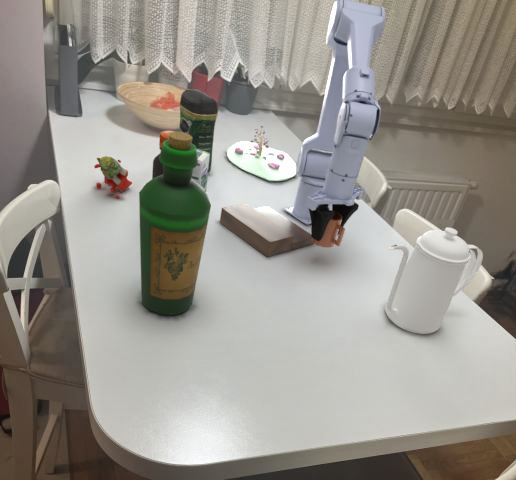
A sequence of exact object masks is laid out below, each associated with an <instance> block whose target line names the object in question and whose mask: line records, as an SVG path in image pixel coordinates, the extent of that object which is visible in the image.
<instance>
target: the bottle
mask: <svg viewBox="0 0 516 480" xmlns="http://www.w3.org/2000/svg"><path fill="white" fill-rule="evenodd" d="M192 139H193V138H192V136H191V135H189V134H187V133H183V132H179V131H176V132H171V133H169V140H166V141H164V142H163V145H162V148H161V150H160V152H159V154H160V156H159V160H160V162H161V163H163V175H160V176H158V177H155V178H153V179H152V178H151V179H150V180H149V181H148V182H146V183H145V185H144V186H143V187H142V188H141V189H140V190H139V192H138V201H139V202H138V203H139V207H138V208H139V248H140V249H139V251H140V253H139V254H140V255H139V256H140V290H141V291H140V296H141V304H142V305H143V306H145V307H146V308H147V309H148V310H149V311H151V312H154V313H157V314H160V315H179V314H181V313H184V312H186V311H188V310H189V309H190V307H191V306H192V305H193V301H194V296H195V291H196V285H197V280H198V275H199V270H200V264H201V259H202V254H203V249H204V244H205V239H206V234H207V228H208V222H209V219H210V213H211V207H212V204H211V201H210V198H209V197H208V194H207V191H206V192H205V190H204V188H203V187H202V186H200V185H199V184H198V183H197V182H195V181H194V180H193V179H191V178H192V173H193V168H195V167H196V166H197V165H198V160H197V149H196V146H195V145H194V144H192V143H191V142H192Z"/></svg>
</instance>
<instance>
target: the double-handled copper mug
mask: <svg viewBox="0 0 516 480" xmlns="http://www.w3.org/2000/svg"><path fill="white" fill-rule="evenodd" d="M330 211H332V210H330ZM332 212H333V213H335V215H334V216H333V217H332V218H331V220H330V221H329V223H328V225H327V227H326V229H325V232H324V235H323V237H322V239H321V240H320V241H317V240H315V239H314V238H312V242H313V244H314V245H316V246H318V247H321V248H325V249H326V248H327V249H328V248H329V249H330V248H333V247H334V246H336V247H340V246H341V245H342V244H341V243H342V241H343V238H344V235H345V231H346V228H345V227H344V226H343V227H342V226H340V225H341V222H342V219H343V217H342V216H341V215H340V214H339V213H337V212H335V211H332ZM339 230H340V232H339ZM338 232H339V234H338ZM337 235H338V236H337Z"/></svg>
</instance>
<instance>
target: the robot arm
mask: <svg viewBox="0 0 516 480" xmlns="http://www.w3.org/2000/svg"><path fill="white" fill-rule="evenodd" d="M386 20H387V12H386V9H385V7H384V6H382V5H381V6H377V5H372V4H368V3H364V2H359V1H355V0H335V1H334V2H333V5H332V8H331V12H330V16H329V22H328V25H327V26H328V27H327V31H326V36H325V39H326V41H325V45H326V46H327V47H328V48H329V49H330V50H331V63H330V69H329V72H328V78H327V81H326V82H327V83H326V87H325V91H324V96H323V102H322V106H321V111H320V116H319V120H318V125H317V130H316V133H315V134H313V135H311V136H309V137H307V138H305V139H304V140H303V141H302V143H301V146H300V151H299V152H298V156H297V160H296V176H297V177H299V181H298V186H297V190H296V196H295V198H294V202H293V206H291V207H286V208H285V209H284V212H286V213H288V214H289V215H291V216H293V217H294V218H296V219H297V220H298V221H300V222H302V223H303V224H305V225H310V234H311V237H312V238H314V239H315V240H317V241H320V240H321V239H322V237H323V235H324V232H325V229H326V227H327V225H328V223H329V221H330V220H331V218H332V217H333V216H334V215H335V213H333V212H332V211H335V212H337V213H339V214H340V215H341V216H342V217H343V219H342V222H341V225H340V226H342V227H344V226H345V225H346V223H347V222H348V220H349V219H350V218H351V217H352V215H353V214H355V213H356V212H357V211H358V210H359V207H360V205H359V204H358V203H357V202H355V200H357V201H359V200H362V198H363V195H364V192H365V190H364V189H362V188H360V187H358V186H356V183H357V180H358V176H359V173H360V171H361V168H362V165H363V160H364V159H365V158H364V157H365V155H366V152H367V148H368V146H369V141H373V140H374V138H375V136H376V135H377V132H378V129H379V127H380V121H381V114H382V113H381V110H382V109H381V106H380V104H379V101H378V100H376V73H375V72H374V70H373V68H371V57H372V51H373V48H374V46H376V45H377V42H378V41H380V38H381V37H382V35H383V33H384V28H385V24H386ZM330 210H332V211H330ZM339 232H340V230H339ZM339 232H338V235H339ZM338 235H337V237H338Z"/></svg>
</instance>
